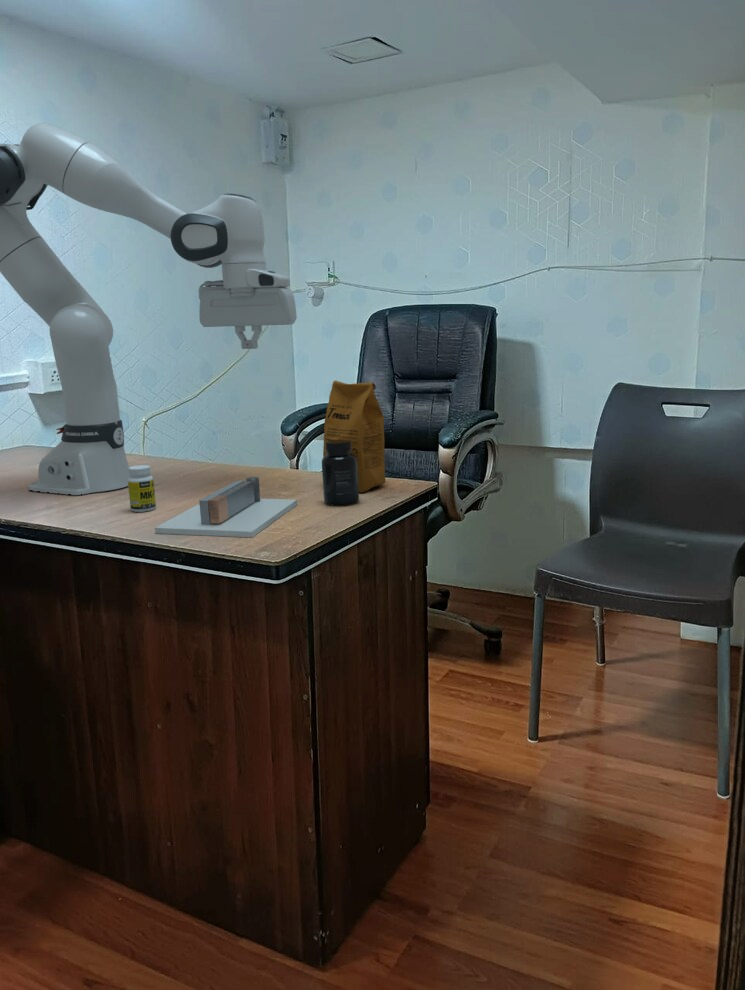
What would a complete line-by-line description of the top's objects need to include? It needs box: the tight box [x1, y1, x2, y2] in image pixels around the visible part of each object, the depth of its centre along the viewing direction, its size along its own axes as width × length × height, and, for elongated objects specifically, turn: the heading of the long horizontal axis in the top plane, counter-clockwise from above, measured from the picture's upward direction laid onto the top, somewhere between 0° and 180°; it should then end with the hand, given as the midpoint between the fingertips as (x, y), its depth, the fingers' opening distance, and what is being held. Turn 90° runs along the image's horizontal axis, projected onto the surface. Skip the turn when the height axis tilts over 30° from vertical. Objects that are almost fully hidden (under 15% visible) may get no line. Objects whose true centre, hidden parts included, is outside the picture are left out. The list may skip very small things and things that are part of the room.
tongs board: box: [154, 476, 298, 538], centre depth 146 cm, size 18×22×6 cm
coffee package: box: [322, 380, 386, 493], centre depth 165 cm, size 10×12×22 cm
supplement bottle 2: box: [321, 439, 360, 507], centre depth 154 cm, size 7×7×12 cm
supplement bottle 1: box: [127, 464, 157, 513], centre depth 154 cm, size 5×5×8 cm
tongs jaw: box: [209, 480, 255, 524], centre depth 145 cm, size 2×16×4 cm, turn 165°
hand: (249, 348), depth 165 cm, fingers closed
